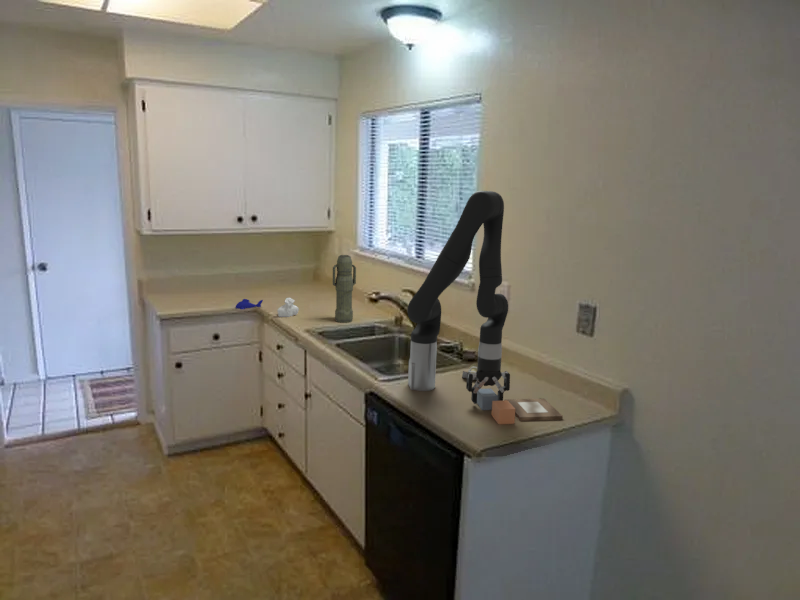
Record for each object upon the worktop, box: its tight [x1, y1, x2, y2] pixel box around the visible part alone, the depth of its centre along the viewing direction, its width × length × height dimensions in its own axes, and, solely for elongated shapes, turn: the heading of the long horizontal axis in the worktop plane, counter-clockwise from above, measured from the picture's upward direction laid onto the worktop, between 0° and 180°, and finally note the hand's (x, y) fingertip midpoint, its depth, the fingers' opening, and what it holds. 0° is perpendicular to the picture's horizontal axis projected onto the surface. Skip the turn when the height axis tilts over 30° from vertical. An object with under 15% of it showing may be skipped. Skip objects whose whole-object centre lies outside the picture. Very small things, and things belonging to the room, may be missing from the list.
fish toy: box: [235, 298, 264, 310], centre depth 317 cm, size 15×8×7 cm, turn 115°
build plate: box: [503, 398, 564, 422], centre depth 187 cm, size 14×15×1 cm
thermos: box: [332, 254, 357, 324], centre depth 292 cm, size 9×12×35 cm
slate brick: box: [476, 387, 498, 411], centre depth 189 cm, size 5×7×5 cm
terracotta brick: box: [491, 400, 516, 425], centre depth 179 cm, size 5×7×5 cm
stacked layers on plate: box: [461, 363, 478, 381], centre depth 217 cm, size 10×9×6 cm
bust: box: [277, 297, 300, 318], centre depth 303 cm, size 12×8×11 cm, turn 125°
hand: (487, 402), depth 189 cm, fingers open, 8 cm apart
